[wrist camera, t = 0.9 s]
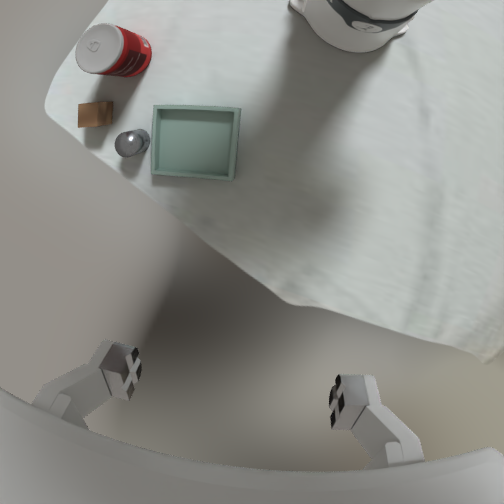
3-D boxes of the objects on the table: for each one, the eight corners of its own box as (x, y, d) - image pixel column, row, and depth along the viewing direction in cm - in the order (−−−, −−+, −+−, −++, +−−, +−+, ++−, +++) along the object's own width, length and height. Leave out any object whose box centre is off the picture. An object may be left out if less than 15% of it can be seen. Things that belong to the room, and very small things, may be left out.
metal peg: (129, 129, 45) (115, 132, 41) (150, 129, 45) (137, 131, 41) (128, 151, 47) (114, 157, 43) (149, 152, 47) (136, 157, 43)
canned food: (119, 33, 38) (83, 22, 28) (159, 38, 38) (129, 23, 28) (106, 74, 41) (68, 71, 31) (145, 80, 42) (112, 76, 32)
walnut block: (94, 102, 43) (78, 104, 39) (113, 101, 43) (97, 102, 39) (93, 124, 45) (78, 127, 41) (112, 123, 45) (97, 126, 41)
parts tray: (159, 105, 43) (153, 105, 41) (241, 108, 43) (239, 108, 41) (156, 171, 48) (151, 174, 46) (234, 177, 48) (232, 181, 46)
